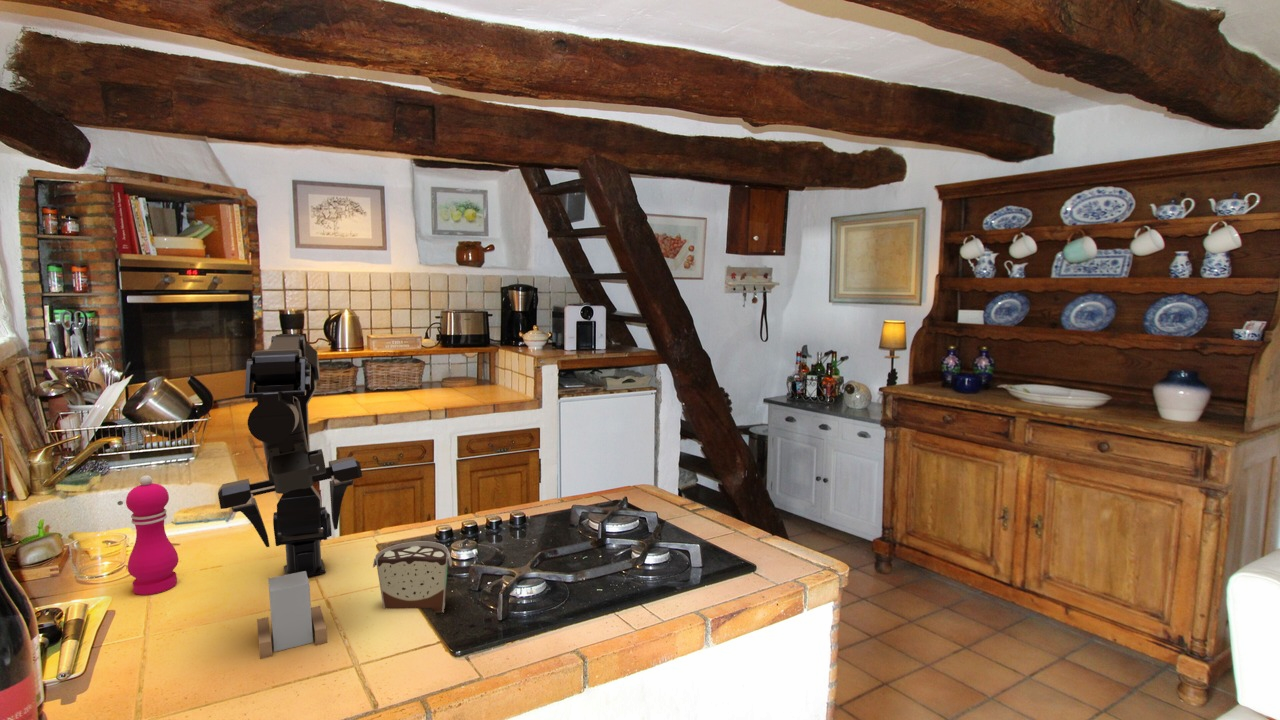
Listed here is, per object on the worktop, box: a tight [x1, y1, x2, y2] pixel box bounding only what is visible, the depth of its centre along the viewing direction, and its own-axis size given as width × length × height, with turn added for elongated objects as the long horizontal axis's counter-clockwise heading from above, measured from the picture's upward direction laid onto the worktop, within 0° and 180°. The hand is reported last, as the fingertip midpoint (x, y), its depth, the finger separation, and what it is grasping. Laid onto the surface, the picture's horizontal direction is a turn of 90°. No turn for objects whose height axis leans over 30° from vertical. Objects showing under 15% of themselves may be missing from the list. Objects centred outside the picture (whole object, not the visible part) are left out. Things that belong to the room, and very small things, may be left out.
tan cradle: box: [256, 605, 328, 660], centre depth 100 cm, size 15×9×3 cm, turn 30°
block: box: [267, 571, 314, 653], centre depth 102 cm, size 5×5×9 cm
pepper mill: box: [125, 474, 179, 596], centre depth 121 cm, size 7×7×20 cm
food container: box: [372, 540, 453, 614], centre depth 115 cm, size 12×6×10 cm, turn 92°
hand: (302, 537), depth 104 cm, fingers open, 9 cm apart
